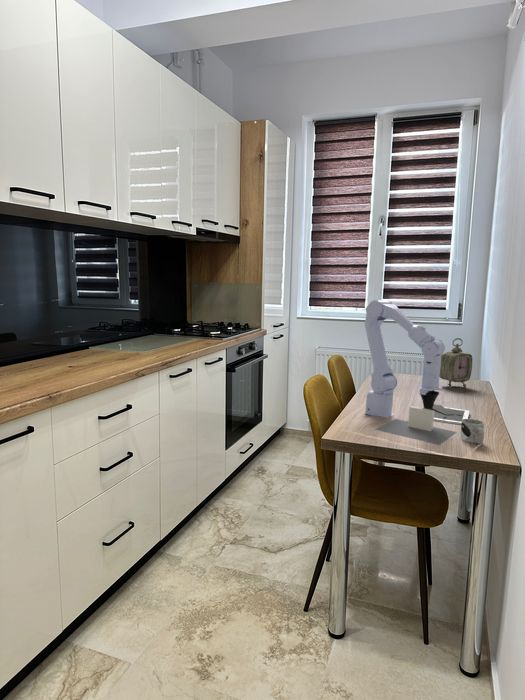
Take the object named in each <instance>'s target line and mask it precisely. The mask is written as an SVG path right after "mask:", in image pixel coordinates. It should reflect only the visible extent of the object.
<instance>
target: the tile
mask: <svg viewBox="0 0 525 700" xmlns="http://www.w3.org/2000/svg"><path fill="white" fill-rule="evenodd" d="M407 421H408V426H409V427H413V428H418V429H422V430H427V431H432V430H433V427H434V422H435V421H434V410H430V409H425V408H424V407H420V406H413V405H411V406H409V412H408V420H407Z"/></svg>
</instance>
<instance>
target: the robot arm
mask: <svg viewBox="0 0 525 700" xmlns="http://www.w3.org/2000/svg"><path fill="white" fill-rule="evenodd" d="M365 312H366V315H365V321H364V328H365V333H366V336H367V337H366V339H367V342H368V346H369V351H370V356H371V360H372V361H371V362H372V366H373V370H372V372H371V382H370V387H371V390H369V391H368V392H367V394H366V398H365V399H366V400H365V411H364V414H365V415H369V416H376V417H377V416H378V417H380V418H381V417H382V418H386V419H388V418H391V417H392V416H394V415H396V413H393V402H394V389H396V387H397V386H398V379H397V377H396V376H395V374H394V371H393V369H392V368H391V367H390V366H389V363H388V358H387V353H386V349H385V344H384V339H383V335H382V330H381V326H382V325H383V323H384V322H385V320H387V319H391V320H393V321H394V322H395V323H396V324H398V325H399V326H400V327H402V328H403V329H404V330H405V331H406V332H407V333H408V335H407V336H408V338H409V339H410V340H411V341H412V342H413V343H415V344H416V345H417V347H418V348H420V349H421V353H422V354H423V365H422V377H421V385H420V388H419V396H420V397H421V400H422V404H423V405H422V406H423V408H425V409H430V410H432V408H433V405H434V404H435V401H436V399H437V398H438V396H439V395H440V391H441V390H443V387H442V386H440V377H439V376H440V366H441V355H442V354H443V353H445V350H446V346H445V344H444V343H443V341H442V340H441V339H437V338H436V337H435V336H434V335H432V334H431V333H430V332H429V331H427V330H426V327H425V326H424V325H419V324H418V325H417V324H415V323H413V321H411V320H410V318H409V317H408V316H406V314H404V313H403V312H402V311H401V310H400V308H399V307H398V306H397V304H395V303H393V302H392V300H388V299H386V300H385V299H384V300H378V299H375V300H371V301H370V302H369V303H368V304H367V306H366V308H365Z"/></svg>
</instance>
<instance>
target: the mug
mask: <svg viewBox="0 0 525 700" xmlns="http://www.w3.org/2000/svg"><path fill="white" fill-rule="evenodd" d="M460 426H461V427H460V434H459V435H460V436H459V438H460V440H462V441H464V442H468V443H474V444H477V445H482V444H483V443H484V438H485V432H484V427H485V422H484V421H482V420H478V419H475V418H474V419H473V418H468V419H462V424H461V425H460ZM483 445H484V444H483Z"/></svg>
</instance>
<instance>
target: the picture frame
mask: <svg viewBox="0 0 525 700" xmlns="http://www.w3.org/2000/svg"><path fill="white" fill-rule="evenodd" d="M432 410H434V421H433V422H440V423H448V424H454V425H458V426H459V425H460V426H461V424H462V419H469V418H468V417H469V416H470V414H471V412H470V410H467V409H460V408H452V407H445V406H443V405H441V404H436V403H434V405H433V408H432Z"/></svg>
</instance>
